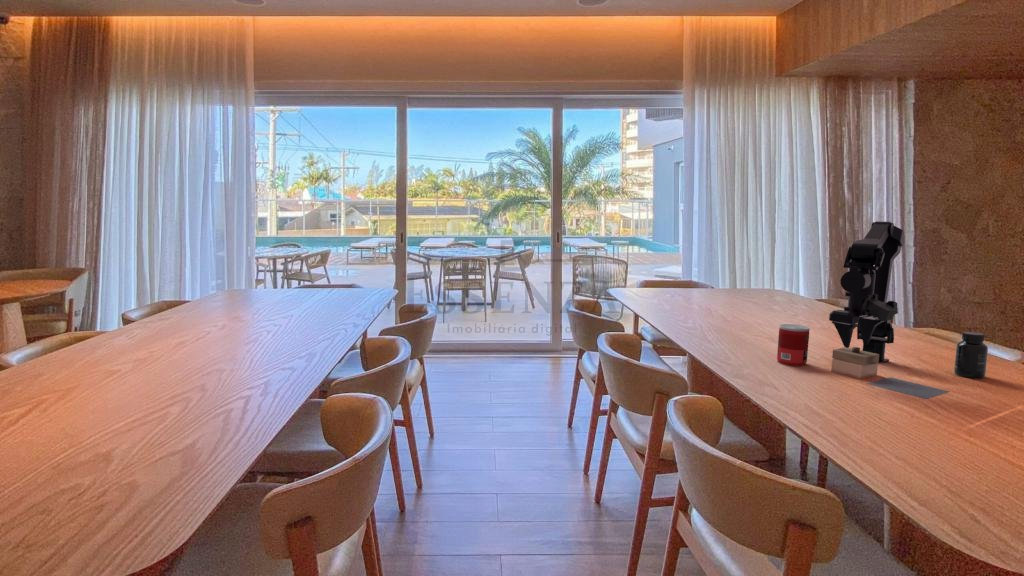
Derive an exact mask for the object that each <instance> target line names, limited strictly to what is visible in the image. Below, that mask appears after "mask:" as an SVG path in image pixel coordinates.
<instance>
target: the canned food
mask: <svg viewBox="0 0 1024 576" xmlns="http://www.w3.org/2000/svg"><path fill="white" fill-rule="evenodd" d="M777 340H778V341H777V353H776V359H777V362H778V363H779V364H782V365H784V364H785V366H789V367H790V366H791V367H803V366H806V365H807V362H808V353H809V340H810V327H808V326H805V325H800V324H794V323H793V324H792V323H785V324H784V323H783V324H780V325H779V328H778V339H777Z"/></svg>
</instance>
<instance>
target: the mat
mask: <svg viewBox="0 0 1024 576" xmlns="http://www.w3.org/2000/svg"><path fill="white" fill-rule="evenodd" d="M865 384H866V385H869V386H874V387H877V388H881V389H886V390H889V391H893V392H897V393H900V394H904V395H908V396H912V397H916V398H918V399H919V398H920V399H925V400H928V399H932V398H934V397H937V396H940V395H944V394H947V393H950V392H951V391H950V390H949V391H948V390H945V389H942V388H941V389H940V388H936V387H933V386H928V385H924V384H920V383H917V382H912V381H908V380H903V379H900V378H894V377H892V376H890V377H887V378H885V377H884V378H883V379H877V380H875V381H869V382H867V383H865Z"/></svg>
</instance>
